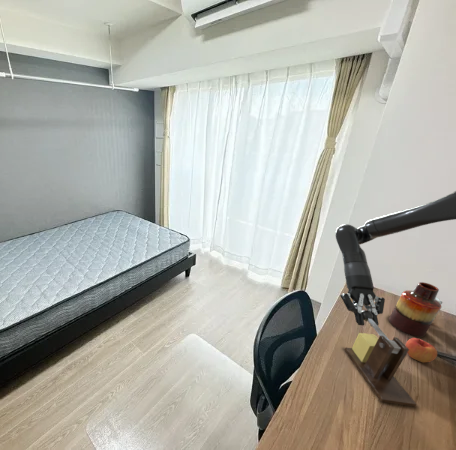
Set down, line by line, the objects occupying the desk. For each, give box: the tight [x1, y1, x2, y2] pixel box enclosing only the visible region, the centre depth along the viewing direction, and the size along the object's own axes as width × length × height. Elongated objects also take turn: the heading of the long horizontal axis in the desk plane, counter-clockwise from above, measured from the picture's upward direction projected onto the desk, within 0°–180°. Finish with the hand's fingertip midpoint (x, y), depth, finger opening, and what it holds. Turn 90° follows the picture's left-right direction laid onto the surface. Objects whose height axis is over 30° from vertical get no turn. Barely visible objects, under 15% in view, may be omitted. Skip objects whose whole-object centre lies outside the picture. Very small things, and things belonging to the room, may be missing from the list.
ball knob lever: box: [361, 309, 401, 354], centre depth 79 cm, size 15×4×4 cm, turn 173°
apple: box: [405, 337, 438, 363], centre depth 84 cm, size 7×7×8 cm
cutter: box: [344, 336, 417, 407], centre depth 76 cm, size 18×9×15 cm, turn 173°
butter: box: [352, 332, 379, 363], centre depth 82 cm, size 5×6×8 cm
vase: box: [388, 281, 442, 338], centre depth 96 cm, size 11×11×20 cm
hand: (367, 325), depth 83 cm, fingers closed on ball knob lever, 3 cm apart
